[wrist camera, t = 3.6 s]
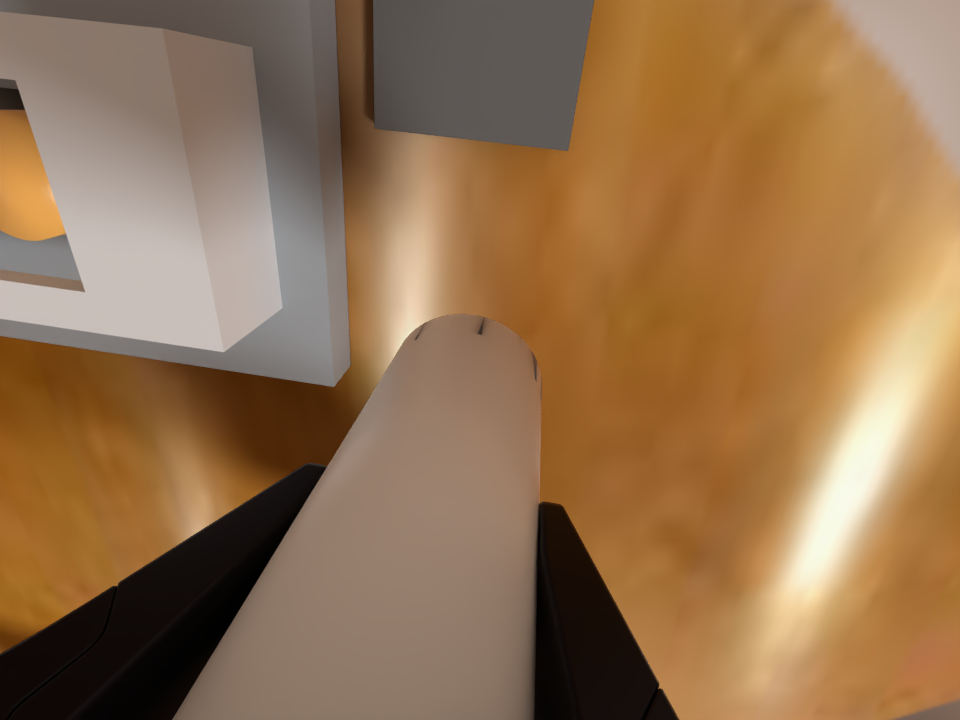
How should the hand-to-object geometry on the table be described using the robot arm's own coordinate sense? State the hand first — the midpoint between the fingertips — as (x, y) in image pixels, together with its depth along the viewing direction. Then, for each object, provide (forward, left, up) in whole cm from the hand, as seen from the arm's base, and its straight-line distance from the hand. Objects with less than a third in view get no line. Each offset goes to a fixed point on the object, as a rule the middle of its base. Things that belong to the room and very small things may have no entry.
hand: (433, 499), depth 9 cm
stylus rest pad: (+9, -2, -12) cm, 15 cm away
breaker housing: (+9, +14, -12) cm, 20 cm away
